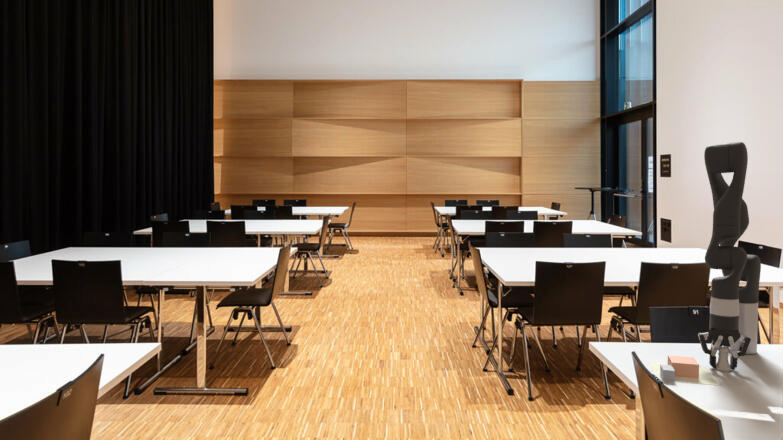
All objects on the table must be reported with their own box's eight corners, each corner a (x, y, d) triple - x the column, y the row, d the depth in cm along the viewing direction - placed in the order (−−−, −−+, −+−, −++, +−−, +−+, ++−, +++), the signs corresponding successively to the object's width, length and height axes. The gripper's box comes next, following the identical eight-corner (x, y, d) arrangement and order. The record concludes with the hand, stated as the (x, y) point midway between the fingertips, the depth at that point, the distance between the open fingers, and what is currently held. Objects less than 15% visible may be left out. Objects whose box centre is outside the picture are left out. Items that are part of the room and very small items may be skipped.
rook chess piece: (734, 375, 158) (735, 348, 158) (717, 374, 159) (718, 348, 158) (727, 370, 162) (728, 344, 162) (711, 369, 163) (712, 343, 163)
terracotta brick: (667, 368, 162) (667, 355, 162) (693, 370, 160) (693, 357, 160) (671, 375, 155) (672, 362, 155) (698, 378, 153) (699, 364, 153)
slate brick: (660, 374, 157) (660, 364, 157) (671, 375, 156) (671, 365, 156) (663, 380, 152) (663, 369, 152) (674, 381, 151) (675, 370, 151)
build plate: (649, 365, 168) (649, 362, 168) (706, 370, 163) (706, 367, 163) (657, 383, 153) (657, 379, 153) (720, 389, 148) (720, 385, 148)
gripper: (747, 310, 161) (746, 366, 162) (694, 308, 165) (693, 362, 166) (756, 316, 154) (754, 374, 155) (700, 313, 158) (699, 370, 159)
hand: (722, 367), depth 161 cm, fingers closed on rook chess piece, 4 cm apart
